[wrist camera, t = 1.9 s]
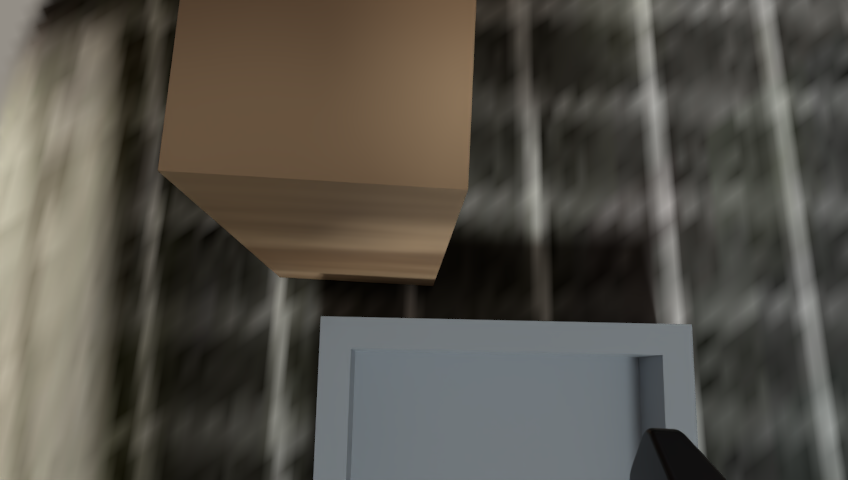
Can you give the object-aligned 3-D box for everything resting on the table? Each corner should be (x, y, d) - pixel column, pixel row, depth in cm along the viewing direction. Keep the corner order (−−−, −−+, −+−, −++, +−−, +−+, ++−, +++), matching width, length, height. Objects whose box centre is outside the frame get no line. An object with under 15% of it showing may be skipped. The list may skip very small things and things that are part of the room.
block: (433, 286, 21) (467, 189, 11) (279, 277, 21) (157, 170, 11) (440, 140, 22) (480, -87, 11) (293, 130, 22) (193, -107, 11)
